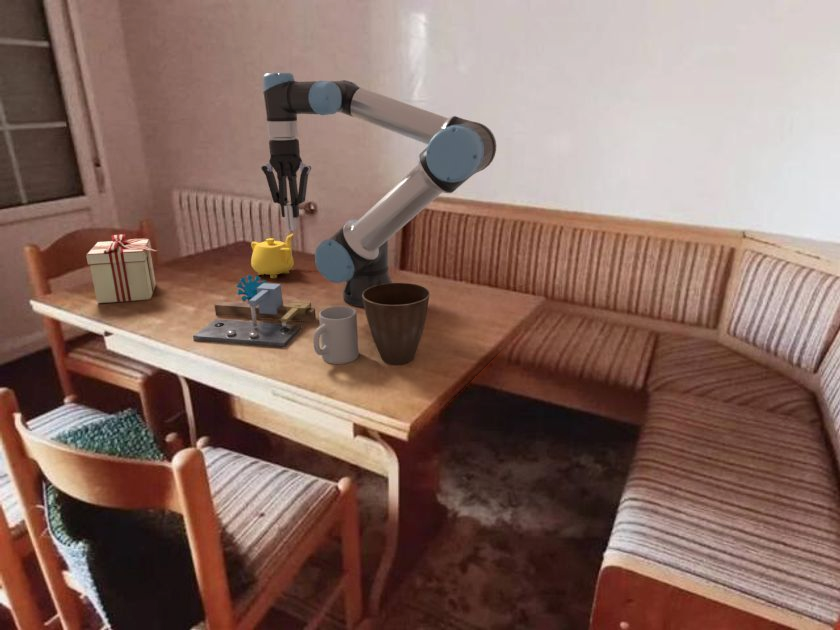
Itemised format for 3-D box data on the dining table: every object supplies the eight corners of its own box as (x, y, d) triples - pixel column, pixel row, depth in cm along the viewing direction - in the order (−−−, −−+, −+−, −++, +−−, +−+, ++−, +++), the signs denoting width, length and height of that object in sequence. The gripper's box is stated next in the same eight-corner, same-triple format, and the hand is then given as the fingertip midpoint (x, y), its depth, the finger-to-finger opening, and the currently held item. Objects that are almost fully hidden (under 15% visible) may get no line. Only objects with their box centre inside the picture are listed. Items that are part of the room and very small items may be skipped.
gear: (244, 305, 162) (233, 275, 165) (237, 315, 166) (227, 285, 169) (280, 301, 169) (269, 272, 172) (273, 311, 173) (263, 282, 176)
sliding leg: (283, 309, 159) (281, 283, 156) (263, 327, 147) (260, 300, 145) (266, 307, 160) (263, 282, 157) (245, 325, 148) (241, 299, 146)
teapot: (298, 278, 189) (295, 242, 185) (252, 281, 186) (248, 245, 182) (296, 265, 202) (293, 232, 197) (253, 268, 199) (249, 234, 194)
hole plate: (301, 329, 150) (301, 322, 149) (284, 347, 140) (283, 340, 139) (216, 323, 154) (215, 316, 154) (193, 340, 144) (192, 332, 144)
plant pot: (351, 362, 133) (348, 296, 127) (390, 339, 144) (388, 278, 138) (405, 379, 125) (404, 310, 119) (441, 353, 137) (442, 289, 131)
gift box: (166, 297, 173) (155, 241, 166) (96, 306, 167) (83, 248, 160) (166, 280, 187) (157, 228, 181) (102, 288, 181) (90, 234, 175)
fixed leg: (311, 310, 158) (310, 302, 157) (293, 329, 146) (292, 320, 145) (294, 309, 159) (293, 300, 158) (274, 328, 147) (273, 318, 146)
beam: (315, 318, 157) (315, 308, 156) (312, 322, 155) (311, 311, 154) (220, 311, 162) (218, 301, 161) (215, 315, 160) (214, 304, 159)
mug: (339, 345, 141) (336, 303, 137) (366, 354, 137) (364, 310, 133) (303, 363, 132) (299, 319, 128) (330, 373, 128) (327, 327, 124)
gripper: (314, 137, 150) (320, 226, 159) (264, 136, 153) (273, 225, 162) (303, 140, 144) (310, 233, 152) (252, 139, 146) (262, 231, 155)
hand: (291, 229), depth 157 cm, fingers closed
